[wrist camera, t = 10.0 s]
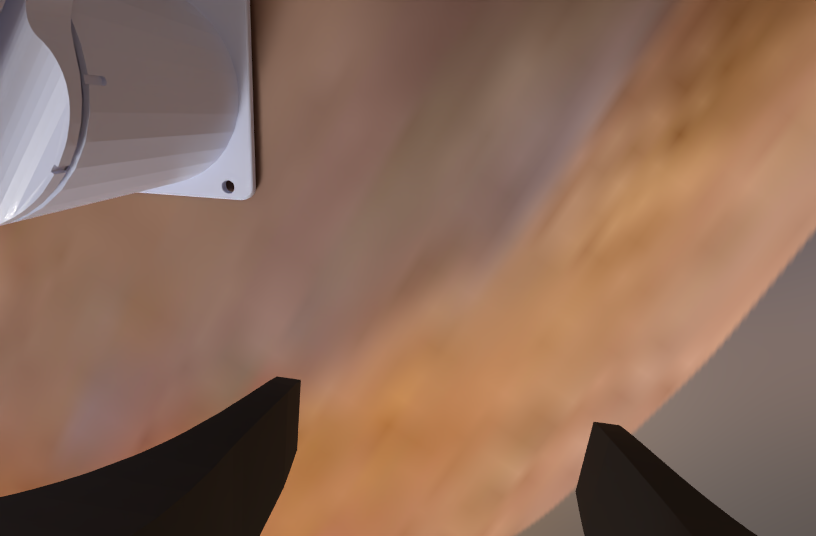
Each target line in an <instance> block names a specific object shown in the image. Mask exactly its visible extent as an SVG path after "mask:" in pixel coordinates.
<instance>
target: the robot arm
mask: <svg viewBox="0 0 816 536" xmlns="http://www.w3.org/2000/svg"><path fill="white" fill-rule="evenodd" d="M228 180H229V181H231V182H232V183H233V184H234V187H235V188H234V191H233V192H231V191H229V190H228V189H227V187H226V182H227V181H228ZM255 189H256V178H255V146H254V114H253V82H252V50H251V19H250V0H0V226H1V225H5V224H9V223H13V222H17V221H21V220H25V219H29V218H33V217H38V216H42V215H46V214H50V213H54V212H58V211H62V210H66V209H71V208H75V207H79V206H83V205H87V204H91V203H95V202H99V201H104V200H108V199H112V198H116V197H120V196H124V195H128V194H132V193H136V192H140V193H153V194H167V195H180V196H194V197H207V198H221V199H234V200H245V199H248V198H250V197H252V196H253V194H254V193H255ZM300 384H301V380H297V379H290V378H283V377H275V378H273V379H272V380H270V381H269V382H267V383H265V384H264V385H262V386H261V387H259V388H258V389H256V390H255V391H253V392H252V393H250V394H249V395H247V396H245V397H244V398H242V399H241V400H239V401H237V402H236V403H234V404H233V405H231V406H230V407H228V408H226V409H225V410H223V411H222V412H220V413H218V414H216V415H215V416H213V417H211V418H209V419H208V420H206V421H204V422H202V423H200V424H199V425H197V426H195V427H193V428H192V429H190V430H188V431H186V432H184V433H182V434H180V435H178V436H176V437H174V438H172V439H170V440H168V441H166V442H164V443H162V444H160V445H157V446H155V447H153V448H151V449H149V450H146V451H144V452H142V453H139V454H137V455H135V456H132V457H129V458H127V459H124V460H121V461H119V462H116V463H113V464H111V465H108V466H105V467H103V468H100V469H97V470H95V471H92V472H89V473H86V474H83V475H80V476H77V477H73V478H70V479H67V480H64V481H61V482H57V483H54V484H50V485H47V486H43V487H40V488H36V489H32V490H28V491H25V492H21V493H17V494H12V495H8V496H4V497H0V536H260V534H261V532H262V530H263V528H264V526H265V524H266V522H267V520H268V518H269V516H270V514H271V512H272V510H273V508H274V506H275V504H276V502H277V500H278V498H279V496H280V494H281V492H282V490H283V488H284V485H285V482H286V480H287V477H288V474H289V472H290V469H291V466H292V463H293V460H294V457H295V454H296V451H297V441H298V422H299V403H300ZM576 496H577V501H578V507H579V511H580V517H581V522H582V526H583V531H584V534H585V536H757V535H755V534H754V533H753V532H751V531H749V530H748V529H747V528H745V527H744V526H743V525H741V524H740V523H739V522H737V521H736V520H734V519H733V518H732V517H730V516H729V515H728V514H727V513H725V512H724V511H723V510H721V509H720V508H719V507H717V506H716V505H715V504H714V503H712V502H711V501H710V500H708V499H707V498H706V497H705V496H703V495H702V494H701V493H700V492H698V491H697V490H696V489H695V488H693V487H692V486H691V485H690V484H689V483H688V482H686V481H685V480H684V479H683V478H681V477H680V476H679V475H678V474H677V473H676V472H674V471H673V470H672V469H671V468H670V467H669V466H667V465H666V464H665V463H664V462H663V461H662V460H660V459H659V458H658V457H657V456H656V455H654V453H652V452H651V451H650V450H649V449H648V448H646V447H645V446H644V445H643V444H642V443H641V442H640V441H638V440H637V439H636V438H635V437H634V436H632V435H631V434H630V433H629V432H628V431H626V430H625V429H624V428H622V427H621V426H619V425H613V424H606V423H599V422H593V426H592V430H591V434H590V438H589V442H588V446H587V449H586V453H585V457H584V461H583V465H582V469H581V473H580V476H579V480H578V484H577V488H576Z"/></svg>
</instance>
